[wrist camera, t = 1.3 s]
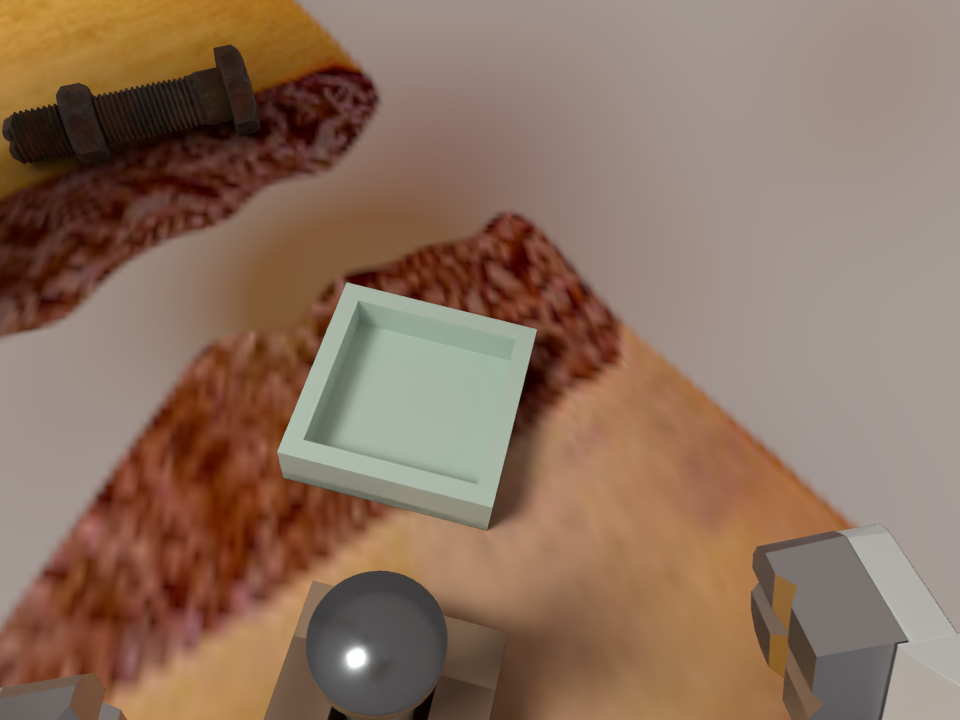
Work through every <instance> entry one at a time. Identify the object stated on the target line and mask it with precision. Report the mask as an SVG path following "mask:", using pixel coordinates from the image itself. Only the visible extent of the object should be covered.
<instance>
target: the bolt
mask: <svg viewBox="0 0 960 720" xmlns="http://www.w3.org/2000/svg"><path fill="white" fill-rule="evenodd" d="M214 55H215V62H216V67H217V68H212V69H207V70H203V71H198V72H193V73H192V74H191V75H188V76H184V78H183V80H182V79H181V77H179V78H178V81H177V80H176V79H173V81H172V82H171V81H170V80H168V82H167V83H166V82H165V80H163V82H162V84H161V83H160V82H159V81H158V83H157V85H156V84H155V83H154V82H153V83H152V85H151V86H150V85H149V84H147V86H146V87H145V86H144V85H142V86H141V88H139V87H138V86H136V89H134V88H133V87H131V89H130V91H129V90H128V89H127V88H126V89H125V92H123V91H122V90H120V92H119V93H118V92H116V91H115V92H114V95H113V94H112V93H111V92H109V94H108V95H106V94H105V93H104V94H103V97H102V96H101V95H100V94H98V97H95V96H94V95H92V93H91V91H90V89H89V88H88V87H87V86H85V85H83V84H80V83H76V84H71V85H66V86H61V87H60V89H59V90H58V92H57V94H56V99H57V104H58V105H56V104H55V103H54V105H53V107H52V106H50V105H48V108H46V107H45V106H43V107H42V109H40V108H39V107H37V109H36V110H34V109H32V108H31V111H28V110H25V112H22V111H19V114H17V113H16V112H14V113H13V115H11V116H10V117H9V118H6V119H5V120H4V122H3V129H2V132H3V136H4V138H5V139H6V140H8V141H9V142H10V146H9V151H10V153H11V155H12V157H13V158H14V159H16V160H18V161H20V162H22V163H23V164H26V163H27V162H29V163H30V164H31V163H32V162H33V161H34V162H35V163H37V161H38V160H40V161H41V162H42V160H43V159H45V160H48V159H49V157H50V158H51V159H53V158H54V156H56V157H59V156H60V154H61V155H62V156H65V154H66V153H67V154H68V155H70V153H71V152H72V153H74V154H76V156H77V158H78V159H79V161H81V162H83V163H85V164H92V163H96V162H101V161H105V160H108V158H109V157H110V155H111V150H110V145H109V143H110V144H111V145H114V143H115V142H116V143H117V144H119V142H120V141H121V142H123V143H124V142H125V140H127V141H128V142H130V139H132V140H134V141H135V139H136V137H137V138H138V139H139V140H140V138H141V136H142V137H144V138H146V135H148V136H149V137H151V134H153V135H154V136H156V135H157V132H158V133H159V134H160V135H162V131H163V132H164V133H166V134H167V131H170V132H172V130H173V129H174V130H175V131H177V130H178V128H180V129H181V130H183V127H185V128H186V129H188V126H190V127H191V128H193V124H194V125H196V126H197V127H198V126H199V124H200V125H206V124H207V125H214V124H218V123H223V122H228V121H233V124H234V126H235V129H236V132H237V135H238V136H243V135H248V134H252V133H256V132H257V131H258V130H259V128H260V121H259V115H258V110H257V106H256V101H255V97H254V93H253V90H252V87H251V83H250V80H249V77H248V74H247V70H246V67H245V64H244V61H243V58H242V56H241V54H240V52H239V51H238V50H237V49H236V48H235V47H234V46H232V45H226V46H221V47H216V48H214Z"/></svg>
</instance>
